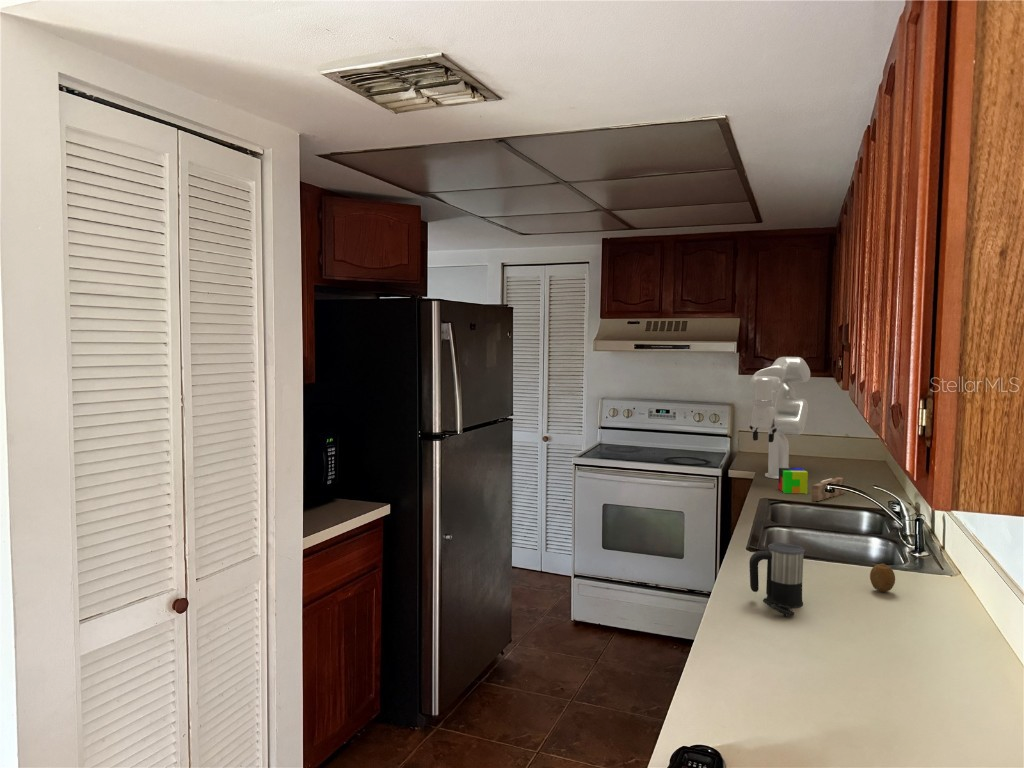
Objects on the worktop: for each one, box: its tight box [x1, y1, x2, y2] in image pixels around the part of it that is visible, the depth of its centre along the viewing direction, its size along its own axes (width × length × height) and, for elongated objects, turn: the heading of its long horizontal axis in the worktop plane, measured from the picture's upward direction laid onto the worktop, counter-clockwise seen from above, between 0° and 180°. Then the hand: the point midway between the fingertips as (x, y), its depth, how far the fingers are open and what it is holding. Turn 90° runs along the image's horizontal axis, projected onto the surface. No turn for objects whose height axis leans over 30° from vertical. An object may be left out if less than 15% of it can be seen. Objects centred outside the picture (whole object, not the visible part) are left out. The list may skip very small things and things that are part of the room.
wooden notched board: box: [811, 476, 845, 502], centre depth 314 cm, size 26×2×8 cm, turn 132°
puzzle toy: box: [778, 467, 809, 495], centre depth 326 cm, size 10×10×10 cm
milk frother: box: [748, 542, 806, 617], centre depth 185 cm, size 14×16×15 cm
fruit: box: [869, 563, 896, 593], centre depth 197 cm, size 6×6×8 cm
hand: (763, 440), depth 336 cm, fingers open, 7 cm apart
